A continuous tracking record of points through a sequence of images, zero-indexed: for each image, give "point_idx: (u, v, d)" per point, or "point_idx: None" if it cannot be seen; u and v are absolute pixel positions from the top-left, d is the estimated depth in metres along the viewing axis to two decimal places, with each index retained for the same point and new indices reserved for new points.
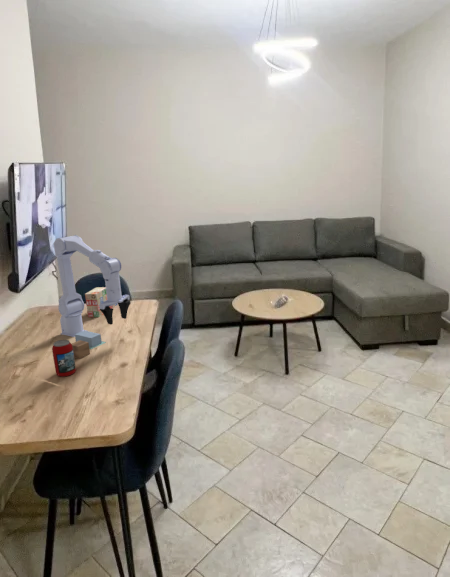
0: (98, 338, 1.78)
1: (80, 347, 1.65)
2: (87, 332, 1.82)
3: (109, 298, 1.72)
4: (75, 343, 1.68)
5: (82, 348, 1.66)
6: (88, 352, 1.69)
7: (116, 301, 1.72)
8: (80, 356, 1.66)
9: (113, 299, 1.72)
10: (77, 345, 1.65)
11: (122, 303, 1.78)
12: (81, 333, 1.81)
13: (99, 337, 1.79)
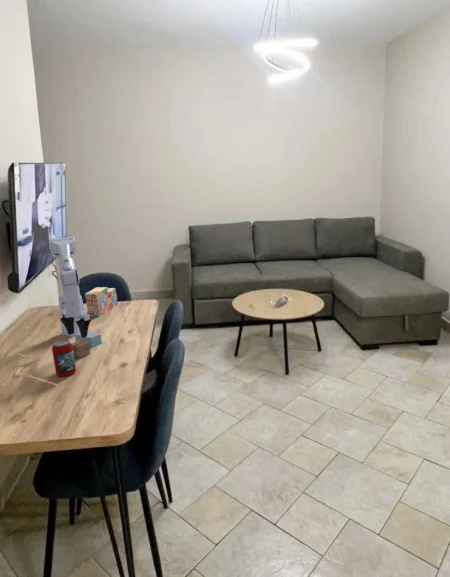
0: (98, 338, 1.78)
1: (80, 347, 1.65)
2: None
3: None
4: (75, 343, 1.68)
5: (82, 348, 1.66)
6: (88, 352, 1.69)
7: (66, 314, 1.63)
8: (80, 356, 1.66)
9: None
10: (77, 345, 1.65)
11: None
12: None
13: (99, 337, 1.79)
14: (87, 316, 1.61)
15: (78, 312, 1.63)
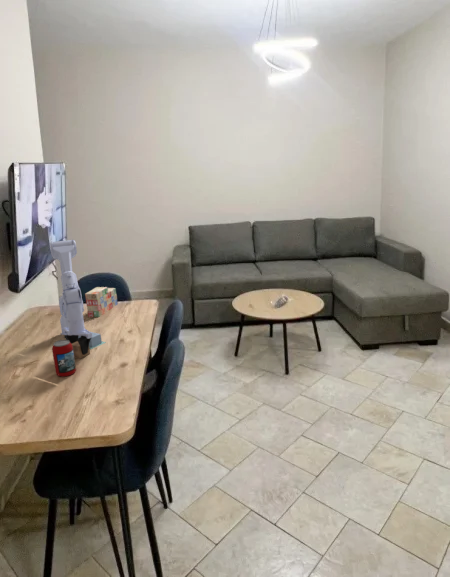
0: (98, 338, 1.78)
1: None
2: None
3: None
4: (75, 343, 1.68)
5: None
6: (88, 352, 1.69)
7: (69, 332, 1.65)
8: (80, 356, 1.66)
9: None
10: (77, 345, 1.65)
11: None
12: None
13: (99, 337, 1.79)
14: (89, 334, 1.63)
15: (81, 330, 1.65)
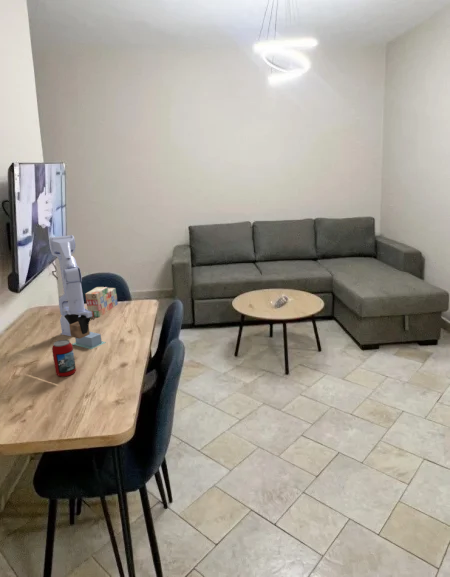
0: (98, 338, 1.78)
1: None
2: None
3: None
4: (75, 323, 1.69)
5: None
6: (88, 332, 1.70)
7: (68, 311, 1.67)
8: (80, 336, 1.67)
9: None
10: (76, 325, 1.67)
11: None
12: None
13: (99, 337, 1.79)
14: (89, 313, 1.64)
15: (80, 309, 1.66)
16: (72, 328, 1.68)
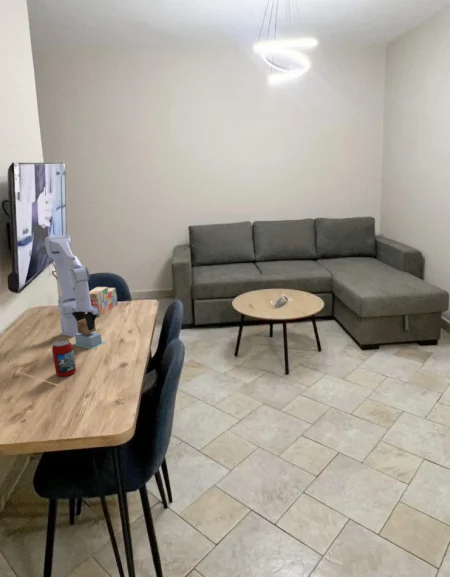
0: (98, 338, 1.78)
1: (86, 324, 1.76)
2: None
3: None
4: (81, 320, 1.78)
5: None
6: (94, 329, 1.79)
7: (76, 308, 1.76)
8: (87, 332, 1.76)
9: None
10: (83, 322, 1.76)
11: None
12: None
13: (99, 337, 1.79)
14: (96, 310, 1.73)
15: (87, 307, 1.75)
16: (79, 325, 1.77)
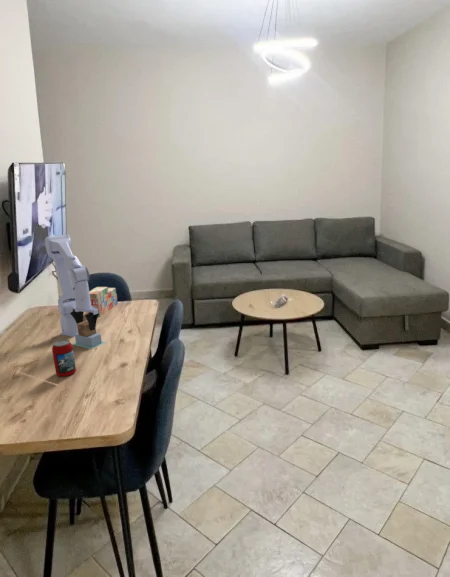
0: (98, 338, 1.78)
1: (87, 326, 1.76)
2: None
3: None
4: (82, 323, 1.79)
5: None
6: (94, 331, 1.80)
7: (76, 308, 1.76)
8: (87, 334, 1.77)
9: None
10: (84, 324, 1.76)
11: None
12: None
13: (99, 337, 1.79)
14: (96, 310, 1.73)
15: (87, 307, 1.75)
16: (80, 327, 1.77)
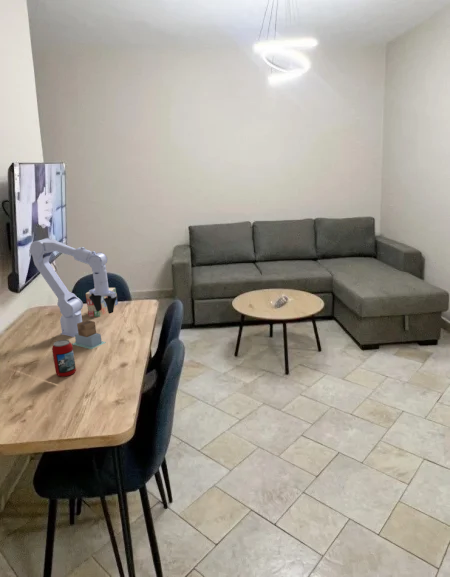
0: (98, 338, 1.78)
1: (87, 326, 1.76)
2: None
3: None
4: (82, 323, 1.79)
5: (89, 327, 1.77)
6: (94, 331, 1.80)
7: (95, 292, 1.85)
8: (87, 334, 1.77)
9: None
10: (84, 324, 1.76)
11: None
12: None
13: (99, 337, 1.79)
14: (114, 294, 1.83)
15: (105, 290, 1.85)
16: (80, 327, 1.77)
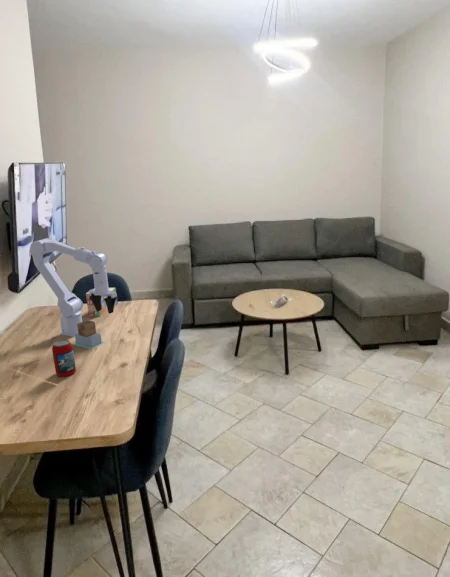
0: (98, 338, 1.78)
1: (87, 326, 1.76)
2: None
3: None
4: (82, 323, 1.79)
5: (89, 327, 1.77)
6: (94, 331, 1.80)
7: (95, 292, 1.85)
8: (87, 334, 1.77)
9: None
10: (84, 324, 1.76)
11: None
12: None
13: (99, 337, 1.79)
14: (114, 294, 1.83)
15: (105, 290, 1.85)
16: (80, 327, 1.77)
